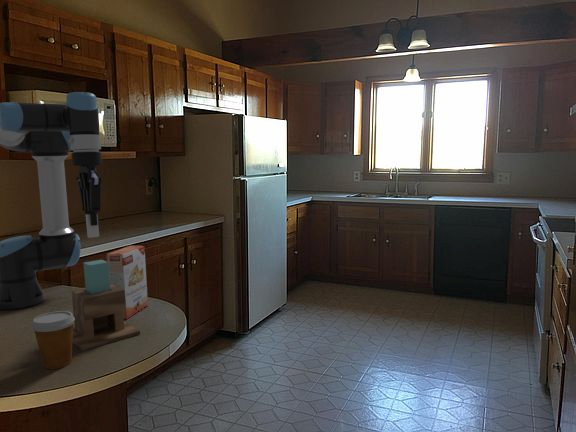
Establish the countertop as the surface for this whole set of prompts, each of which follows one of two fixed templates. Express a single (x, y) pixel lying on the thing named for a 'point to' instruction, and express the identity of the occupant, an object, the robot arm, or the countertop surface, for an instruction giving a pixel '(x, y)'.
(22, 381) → the countertop surface
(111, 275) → the cracker box
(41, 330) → the disposable coffee cup
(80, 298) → the chute
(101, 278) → the block
